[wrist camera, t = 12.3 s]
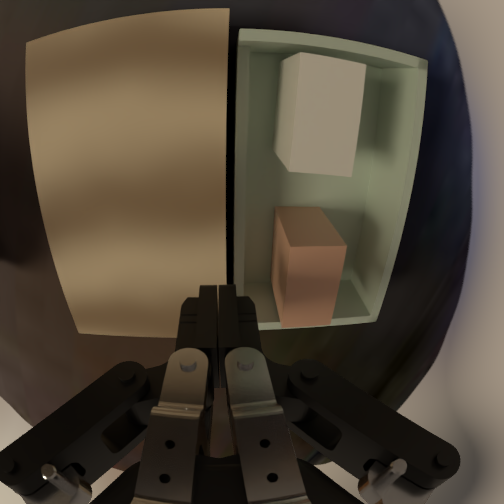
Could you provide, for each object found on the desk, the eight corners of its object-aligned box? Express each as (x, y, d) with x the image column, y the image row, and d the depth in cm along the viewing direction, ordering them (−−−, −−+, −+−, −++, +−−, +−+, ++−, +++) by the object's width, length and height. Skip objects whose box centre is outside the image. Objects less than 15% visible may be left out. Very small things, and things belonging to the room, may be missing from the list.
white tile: (300, 52, 9) (366, 64, 9) (279, 61, 13) (328, 68, 13) (288, 171, 11) (351, 176, 12) (272, 148, 15) (319, 152, 15)
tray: (236, 43, 13) (239, 28, 9) (386, 62, 13) (427, 60, 10) (232, 286, 20) (235, 330, 16) (353, 282, 20) (375, 321, 17)
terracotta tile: (290, 246, 13) (347, 245, 13) (274, 206, 17) (319, 206, 17) (281, 327, 15) (330, 324, 15) (270, 276, 19) (310, 275, 19)
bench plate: (60, 47, 11) (26, 42, 8) (228, 25, 12) (229, 8, 9) (95, 297, 19) (78, 332, 16) (226, 298, 20) (227, 337, 17)
